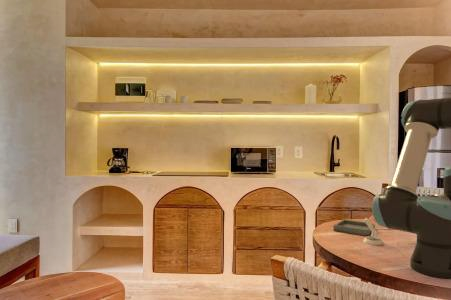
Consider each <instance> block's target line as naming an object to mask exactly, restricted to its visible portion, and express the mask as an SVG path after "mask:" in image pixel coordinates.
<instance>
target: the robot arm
mask: <svg viewBox="0 0 451 300" xmlns="http://www.w3.org/2000/svg"><path fill="white" fill-rule="evenodd" d="M400 117H401V119H400V121H401V125H402V127H403V128H404V131H405V133H406V135H405V138H404V142H403V145H402V148H401V151H400V154H399V157H398V161H397V164H396V167H395V169H394V173H393V176H392V179H391V182H390V185H388V186H385V187H384V188H383V191H382V193H379V194H376V195H375V196H374V198H373V200H372V204H371V212H372V218H373V219H374V221H375V222H376V223H375V224H377V225H378V226H380V227H384V228H387V229H390V230H395V231H400V232H401V231H402V232H405V233H410V234H411V233H412V234H416V245H415V246H414V248H413V249H414V250H413V252H412V255H411V257H410V260H409V261H410V264H409V265H410V267H411V269H413V270H414V271H416V272H418V273H421V274H423V275H427V276H430V277H434V278H440V279H450V278H451V166H446V167H445V168H444V171H443V193H442V194H431V195H429V194H428V195H420V196H419V195H418V194H417V189H418V186H419V183H420V180H421V176H422V172H423V168H424V166H425V161H426V159H427V155H428V152H429V148H430V145H431V142H432V139H434V138H436V137H437V135H438V133H439V130H447V129H450V130H451V96H450V97H442V98H432V99H418V100H413V101H410V102H408V103H406V105H405V106H404V108H403V110H402V112H401V115H400Z"/></svg>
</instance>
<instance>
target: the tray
mask: <svg viewBox="0 0 451 300" xmlns="http://www.w3.org/2000/svg"><path fill="white" fill-rule="evenodd" d="M370 223H371V224H372V226H373V227H374V229H375V230H376V223H373V222H370ZM333 231H335V232H341V233H347V234H353V235H359V236H360V235H361V236H366V237H368V236H369V235H371V234H372V231H371V230H370V228H369V227H368V225H367V224H366V223H365V221H359V220H349V219H342V220H340V221H338V222H337V223H335V224H333Z"/></svg>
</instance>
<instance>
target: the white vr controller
mask: <svg viewBox="0 0 451 300" xmlns="http://www.w3.org/2000/svg"><path fill="white" fill-rule="evenodd" d="M363 222H365V223H366V224H367V225H368V227H369V228H370V230H371V231H372V232H371V233H370V236H366V237H364V239H363V243H364V244H367V245H372V246H373V245H374V246H382V245H384V241H383V239H382V238H381V237H378V235H379V233H378V231H377V230H376V228H375V229H374V227H373V226H372V224H371V223H372V222H371V221H370V220H369V219H368V218H367V217H365V218H364V219H363Z"/></svg>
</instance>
